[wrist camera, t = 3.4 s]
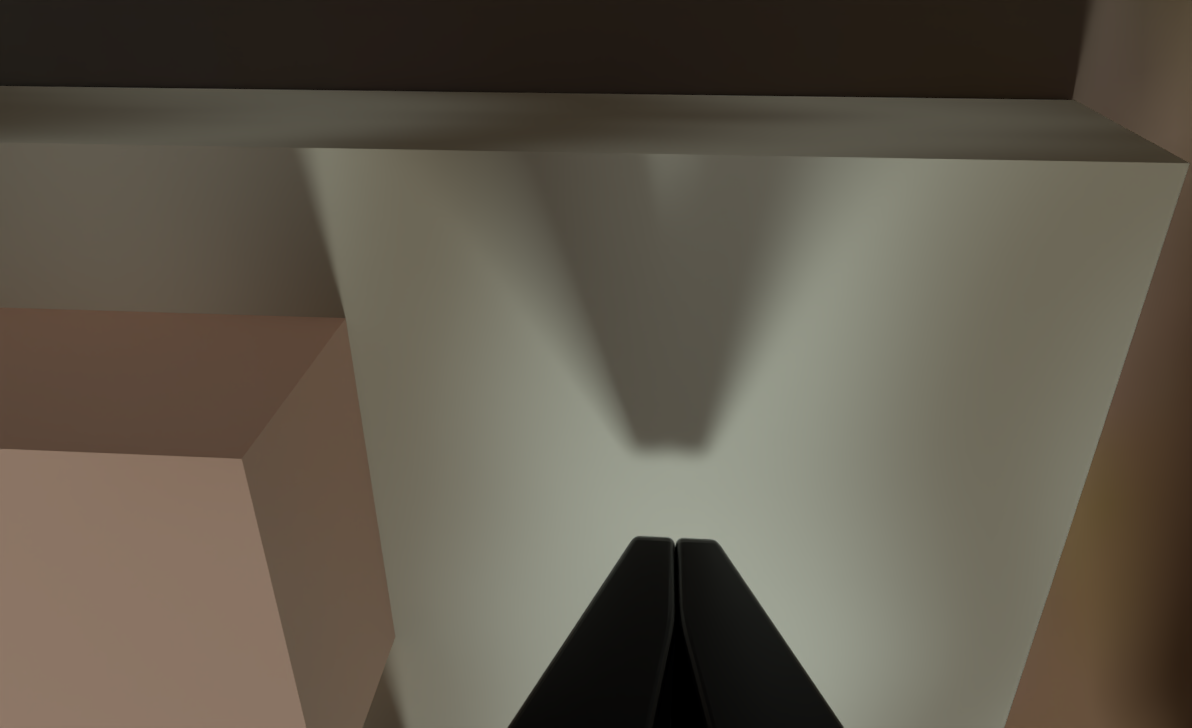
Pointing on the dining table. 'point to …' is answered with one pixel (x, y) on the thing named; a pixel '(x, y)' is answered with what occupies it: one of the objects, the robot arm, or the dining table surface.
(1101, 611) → the dining table surface
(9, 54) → the dining table surface
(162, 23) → the dining table surface
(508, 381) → the board
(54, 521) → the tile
